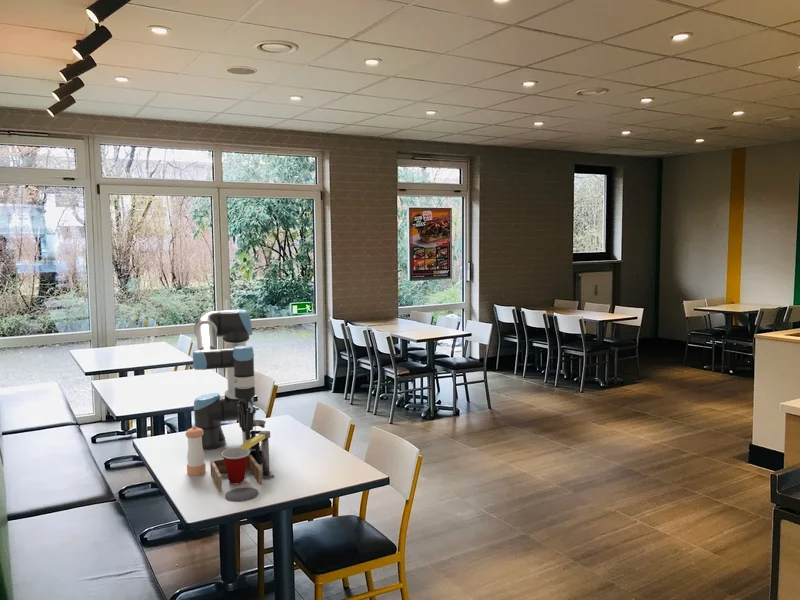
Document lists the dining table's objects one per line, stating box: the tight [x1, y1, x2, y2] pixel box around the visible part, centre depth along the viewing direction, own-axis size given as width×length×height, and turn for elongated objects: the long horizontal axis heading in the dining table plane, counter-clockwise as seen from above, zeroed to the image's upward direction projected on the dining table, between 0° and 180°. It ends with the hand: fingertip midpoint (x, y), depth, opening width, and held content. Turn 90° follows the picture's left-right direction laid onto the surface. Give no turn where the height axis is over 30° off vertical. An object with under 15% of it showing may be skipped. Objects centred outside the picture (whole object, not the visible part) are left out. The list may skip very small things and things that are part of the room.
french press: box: [248, 407, 266, 465], centre depth 277 cm, size 12×9×23 cm
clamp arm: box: [240, 430, 271, 449], centre depth 250 cm, size 4×18×2 cm, turn 164°
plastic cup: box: [221, 447, 250, 485], centre depth 253 cm, size 11×11×12 cm
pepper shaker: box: [185, 425, 207, 476], centre depth 264 cm, size 7×7×19 cm
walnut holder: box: [209, 454, 263, 493], centre depth 255 cm, size 20×16×6 cm
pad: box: [224, 486, 259, 502], centre depth 240 cm, size 12×12×1 cm
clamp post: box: [260, 438, 275, 480], centre depth 258 cm, size 5×5×16 cm
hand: (246, 447), depth 249 cm, fingers closed
